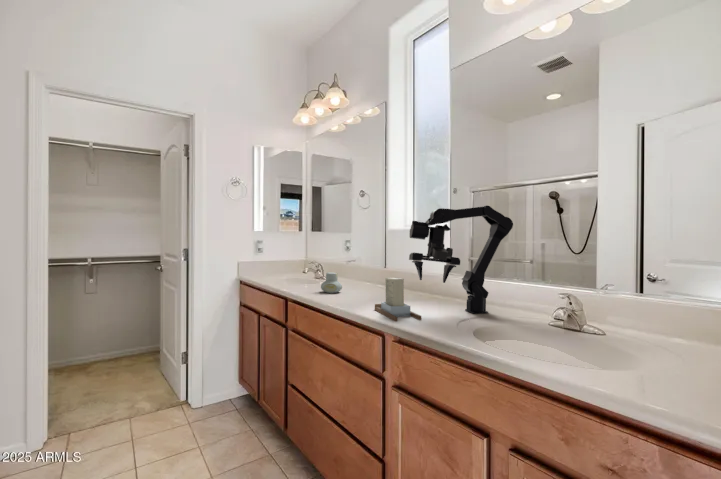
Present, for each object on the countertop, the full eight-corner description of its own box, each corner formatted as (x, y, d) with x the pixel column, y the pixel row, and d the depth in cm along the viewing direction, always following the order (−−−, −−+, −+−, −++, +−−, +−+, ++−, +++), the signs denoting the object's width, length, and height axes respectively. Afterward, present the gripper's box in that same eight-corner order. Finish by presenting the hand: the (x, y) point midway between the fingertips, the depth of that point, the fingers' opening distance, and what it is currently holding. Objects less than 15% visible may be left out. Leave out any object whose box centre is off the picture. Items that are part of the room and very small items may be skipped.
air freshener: (343, 291, 184) (343, 272, 184) (340, 294, 176) (341, 274, 176) (322, 290, 185) (323, 272, 185) (319, 293, 177) (319, 273, 177)
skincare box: (404, 312, 128) (404, 278, 128) (394, 313, 126) (394, 279, 126) (394, 309, 133) (394, 277, 133) (384, 310, 131) (385, 277, 131)
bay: (397, 309, 140) (397, 303, 140) (421, 320, 121) (421, 313, 121) (374, 310, 137) (374, 303, 137) (394, 321, 118) (395, 314, 118)
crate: (399, 310, 135) (399, 301, 135) (410, 315, 126) (410, 305, 126) (380, 311, 133) (381, 302, 133) (390, 316, 124) (390, 306, 124)
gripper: (418, 236, 127) (413, 279, 126) (467, 242, 129) (464, 285, 127) (410, 238, 138) (406, 278, 137) (456, 244, 140) (452, 283, 138)
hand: (432, 281), depth 135 cm, fingers open, 9 cm apart
